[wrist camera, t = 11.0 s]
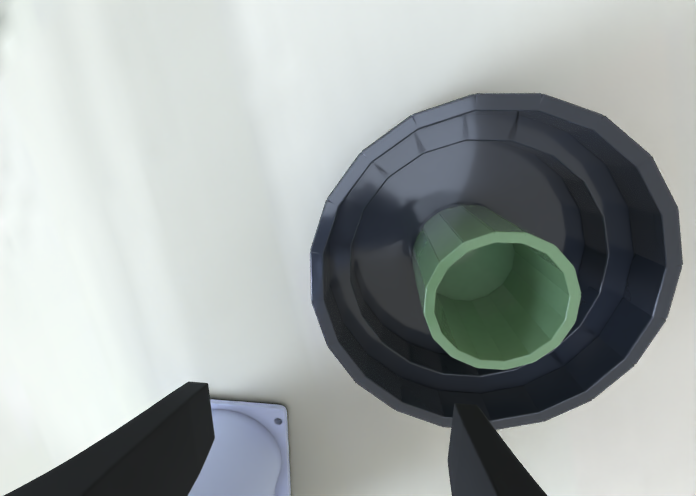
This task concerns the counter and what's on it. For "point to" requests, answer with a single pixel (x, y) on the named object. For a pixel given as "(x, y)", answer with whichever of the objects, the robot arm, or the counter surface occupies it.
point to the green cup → (492, 288)
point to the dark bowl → (523, 208)
